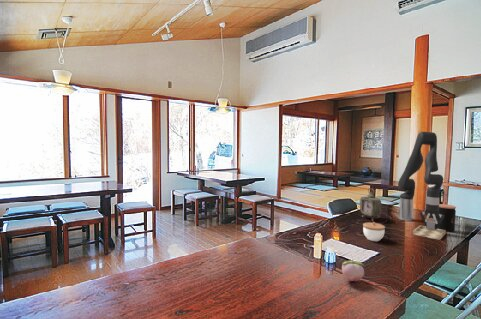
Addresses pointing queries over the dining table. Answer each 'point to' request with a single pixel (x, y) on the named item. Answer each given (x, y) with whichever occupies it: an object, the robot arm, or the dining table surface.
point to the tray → (429, 232)
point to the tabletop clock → (370, 205)
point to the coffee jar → (447, 217)
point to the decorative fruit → (352, 270)
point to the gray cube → (431, 225)
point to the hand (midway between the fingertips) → (431, 228)
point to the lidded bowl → (373, 231)
